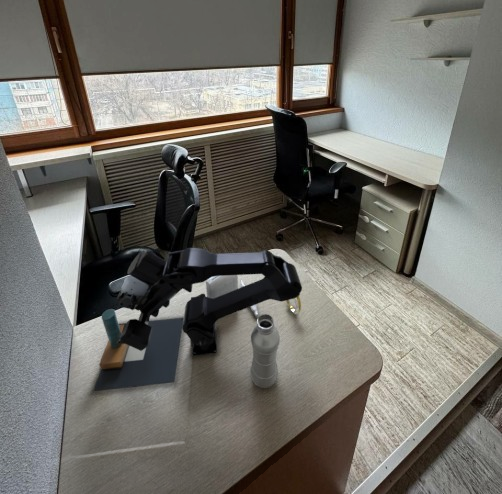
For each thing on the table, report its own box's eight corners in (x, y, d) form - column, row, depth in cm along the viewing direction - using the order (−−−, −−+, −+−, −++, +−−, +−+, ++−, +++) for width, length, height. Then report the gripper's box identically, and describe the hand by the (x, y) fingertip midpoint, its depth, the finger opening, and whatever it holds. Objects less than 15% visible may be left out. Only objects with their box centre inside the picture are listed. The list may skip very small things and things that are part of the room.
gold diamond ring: (302, 317, 81) (304, 298, 78) (293, 321, 80) (294, 302, 77) (290, 299, 87) (291, 280, 84) (281, 302, 86) (282, 284, 83)
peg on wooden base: (134, 331, 77) (125, 296, 72) (122, 370, 68) (111, 332, 63) (116, 333, 77) (105, 298, 71) (102, 372, 67) (88, 334, 62)
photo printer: (233, 291, 90) (232, 262, 86) (240, 300, 87) (239, 271, 82) (205, 306, 85) (202, 276, 80) (211, 316, 82) (209, 286, 77)
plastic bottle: (249, 364, 69) (248, 309, 62) (275, 361, 70) (277, 307, 62) (251, 393, 63) (251, 337, 56) (279, 390, 64) (283, 334, 56)
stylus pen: (261, 316, 81) (261, 312, 81) (253, 320, 80) (253, 315, 80) (244, 280, 94) (244, 276, 93) (237, 282, 93) (236, 278, 93)
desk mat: (183, 318, 81) (183, 317, 81) (174, 382, 66) (174, 381, 65) (118, 324, 80) (118, 323, 79) (93, 392, 64) (92, 391, 64)
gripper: (146, 246, 72) (111, 281, 75) (122, 309, 54) (78, 350, 58) (179, 267, 75) (145, 299, 78) (166, 331, 58) (123, 369, 61)
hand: (125, 324), depth 69 cm, fingers open, 9 cm apart
